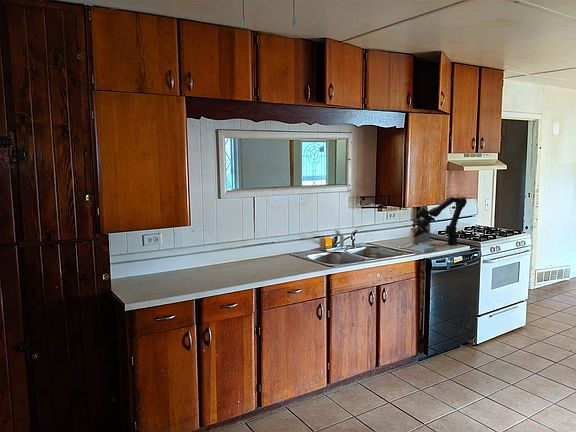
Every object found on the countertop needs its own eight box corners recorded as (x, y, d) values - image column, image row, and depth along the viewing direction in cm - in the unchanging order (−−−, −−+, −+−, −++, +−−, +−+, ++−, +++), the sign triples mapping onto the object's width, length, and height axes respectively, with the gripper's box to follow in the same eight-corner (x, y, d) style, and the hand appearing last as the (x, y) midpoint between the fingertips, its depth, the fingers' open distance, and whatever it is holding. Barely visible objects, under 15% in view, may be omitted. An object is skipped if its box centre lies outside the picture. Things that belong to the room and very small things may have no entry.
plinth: (423, 248, 375) (423, 244, 374) (435, 250, 365) (435, 246, 364) (412, 250, 369) (412, 246, 368) (424, 252, 359) (424, 248, 358)
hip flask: (416, 242, 395) (416, 219, 393) (413, 242, 399) (413, 218, 396) (430, 240, 402) (431, 217, 399) (427, 240, 406) (427, 217, 403)
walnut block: (416, 243, 382) (416, 227, 379) (418, 244, 377) (419, 228, 375) (410, 243, 381) (410, 227, 379) (412, 245, 376) (413, 229, 374)
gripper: (414, 213, 385) (401, 227, 385) (424, 216, 367) (411, 231, 367) (423, 222, 388) (410, 236, 387) (433, 226, 369) (420, 240, 369)
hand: (413, 236), depth 377 cm, fingers closed on walnut block, 5 cm apart
